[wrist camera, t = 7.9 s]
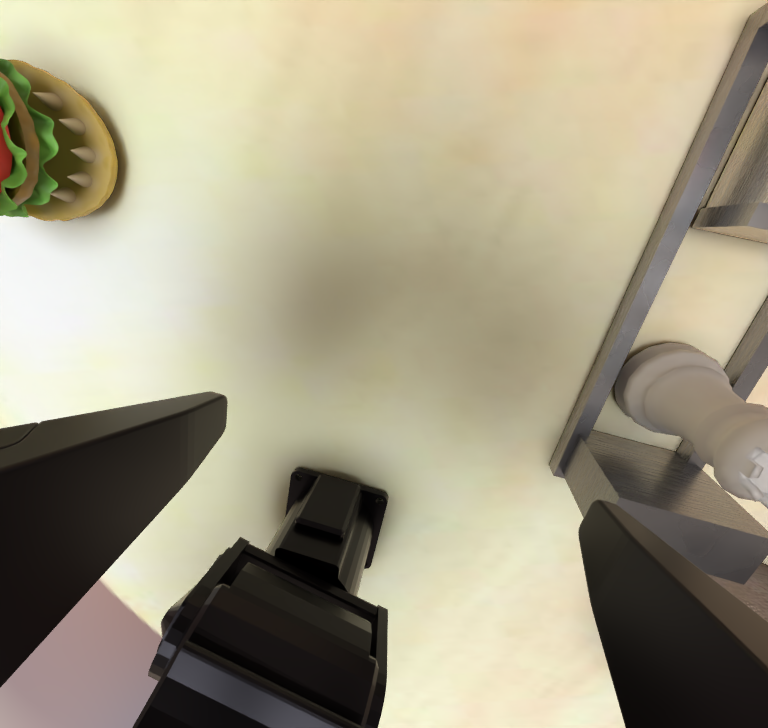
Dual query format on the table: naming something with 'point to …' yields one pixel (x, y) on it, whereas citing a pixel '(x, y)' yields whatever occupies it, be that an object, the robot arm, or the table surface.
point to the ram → (743, 184)
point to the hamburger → (50, 147)
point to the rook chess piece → (699, 413)
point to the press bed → (756, 351)
